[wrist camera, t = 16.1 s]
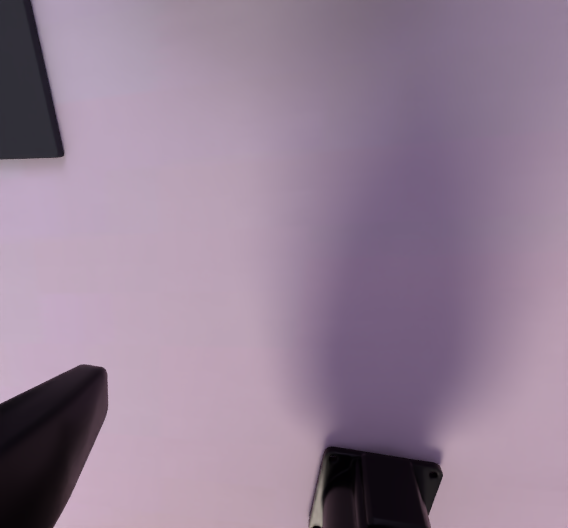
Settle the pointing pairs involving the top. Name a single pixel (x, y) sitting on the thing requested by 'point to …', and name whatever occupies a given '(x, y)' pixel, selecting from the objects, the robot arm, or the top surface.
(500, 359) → the top surface
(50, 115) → the mat
